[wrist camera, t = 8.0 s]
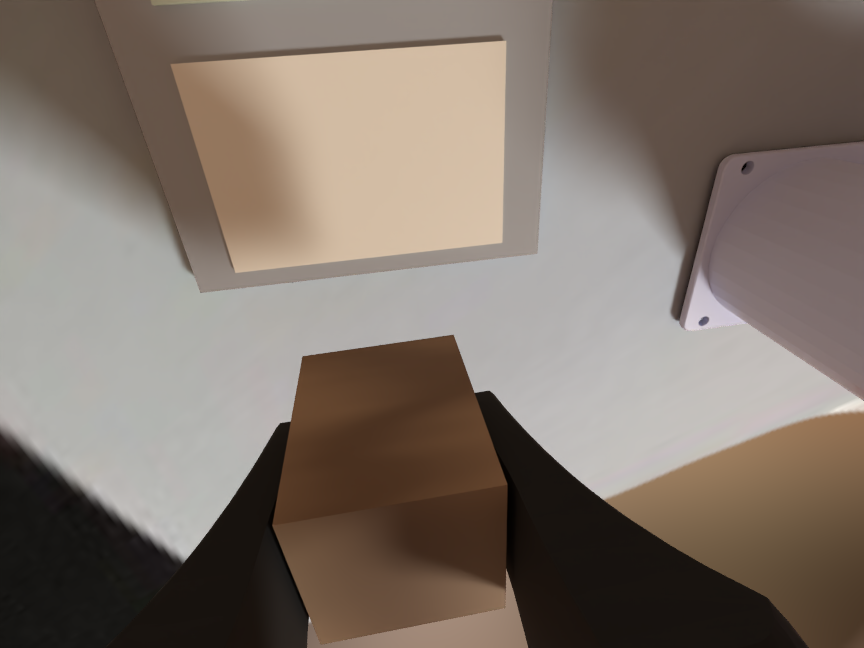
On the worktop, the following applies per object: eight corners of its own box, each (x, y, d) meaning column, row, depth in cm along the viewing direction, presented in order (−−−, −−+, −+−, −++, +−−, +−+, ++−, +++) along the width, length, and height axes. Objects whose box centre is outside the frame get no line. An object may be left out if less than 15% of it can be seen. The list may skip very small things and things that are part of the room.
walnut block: (453, 334, 12) (507, 484, 8) (459, 442, 14) (505, 608, 10) (302, 356, 12) (272, 525, 7) (331, 463, 14) (320, 644, 9)
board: (565, -402, 10) (583, -442, 10) (530, 246, 19) (538, 255, 18) (-40, -417, 9) (-80, -465, 8) (206, 283, 17) (199, 294, 17)
